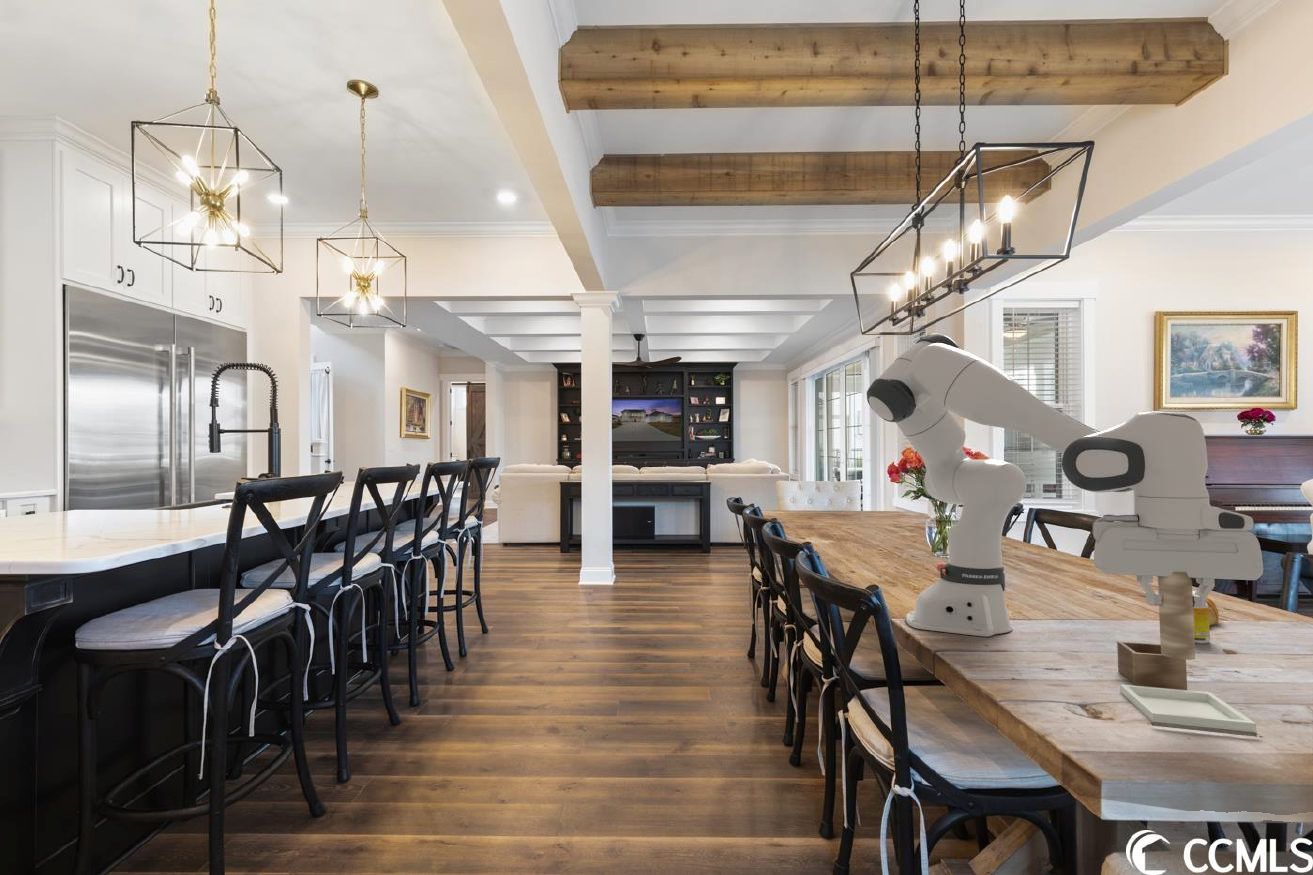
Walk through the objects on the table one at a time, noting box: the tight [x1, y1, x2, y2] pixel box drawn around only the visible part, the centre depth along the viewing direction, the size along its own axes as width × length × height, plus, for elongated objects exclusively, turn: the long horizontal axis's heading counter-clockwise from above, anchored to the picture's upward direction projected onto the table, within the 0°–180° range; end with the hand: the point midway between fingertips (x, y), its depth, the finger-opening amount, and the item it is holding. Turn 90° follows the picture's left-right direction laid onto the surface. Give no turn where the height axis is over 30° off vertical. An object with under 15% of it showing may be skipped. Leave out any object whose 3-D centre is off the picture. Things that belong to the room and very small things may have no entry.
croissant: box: [1206, 596, 1220, 627], centre depth 145 cm, size 21×10×8 cm, turn 137°
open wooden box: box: [1116, 640, 1188, 690], centre depth 105 cm, size 7×7×6 cm
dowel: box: [1157, 572, 1196, 661], centre depth 93 cm, size 4×4×13 cm
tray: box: [1119, 683, 1258, 737], centre depth 93 cm, size 12×12×2 cm
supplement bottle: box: [1192, 590, 1211, 644], centre depth 130 cm, size 6×6×10 cm
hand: (1175, 606), depth 93 cm, fingers closed on dowel, 4 cm apart
